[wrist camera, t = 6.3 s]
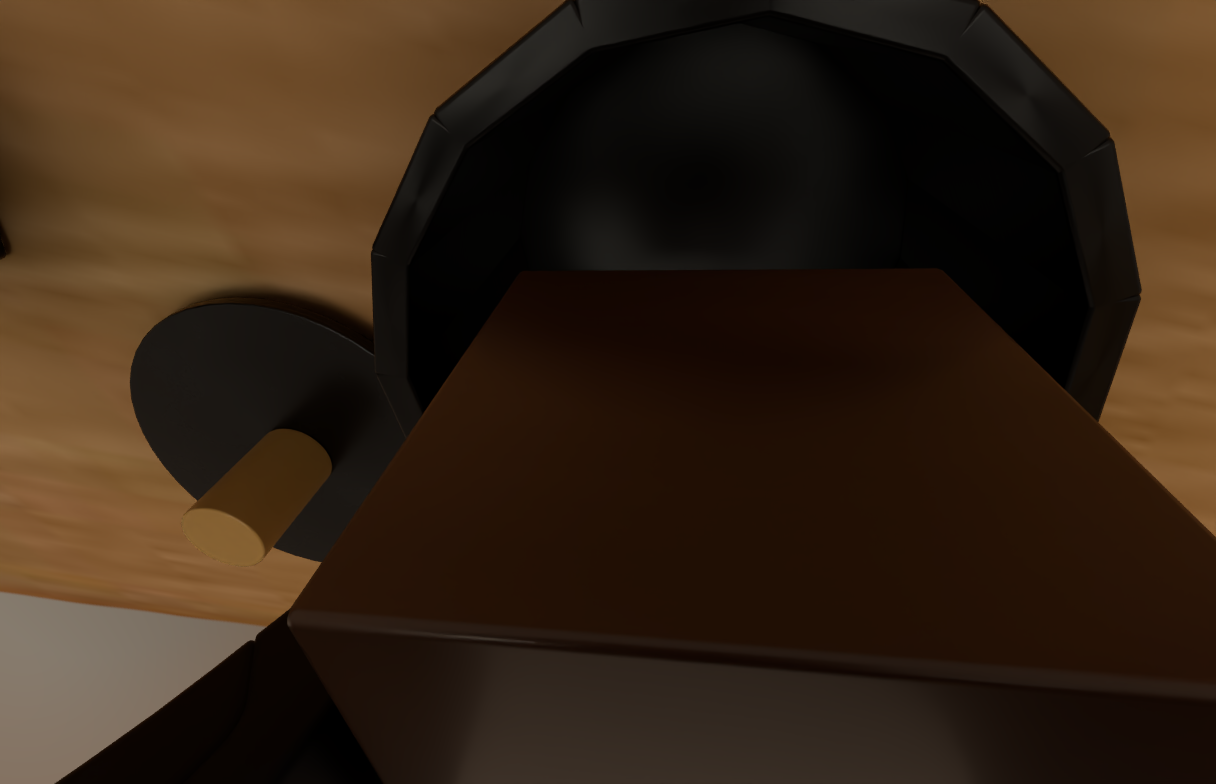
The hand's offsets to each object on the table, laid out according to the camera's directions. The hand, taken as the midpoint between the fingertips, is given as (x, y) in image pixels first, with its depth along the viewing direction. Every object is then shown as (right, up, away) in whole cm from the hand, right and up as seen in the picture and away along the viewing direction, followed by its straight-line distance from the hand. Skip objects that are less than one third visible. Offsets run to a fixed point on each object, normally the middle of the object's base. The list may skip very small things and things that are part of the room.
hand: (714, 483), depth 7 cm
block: (0, +1, +1) cm, 1 cm away
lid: (-13, -1, +14) cm, 19 cm away
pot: (+1, +5, +8) cm, 10 cm away
